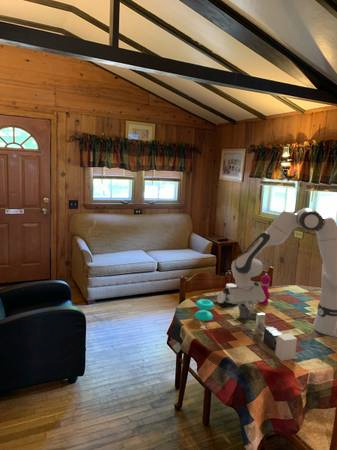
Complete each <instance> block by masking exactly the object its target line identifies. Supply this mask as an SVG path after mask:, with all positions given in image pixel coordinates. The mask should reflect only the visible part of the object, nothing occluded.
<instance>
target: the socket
mask: <svg viewBox="0 0 337 450" xmlns="http://www.w3.org/2000/svg"><path fill="white" fill-rule="evenodd" d="M297 343H298V338H297V337H296V336H295V335H293V334H292V333H282V334H281V335H277V343H276V351H275V355H276V356H277V357H278V358H279V359H280V360H281V361H280V362H283V361H288V360H289V359H290V360H296V359H295V354H296V351H297ZM282 360H283V361H282Z"/></svg>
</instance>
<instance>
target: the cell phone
mask: <svg viewBox="0 0 337 450" xmlns="http://www.w3.org/2000/svg"><path fill="white" fill-rule="evenodd" d="M199 329H201V330H205V331H210V330H209V328H208V327H207V326H206V324H205V323H202V324H201V326H200V327H199Z"/></svg>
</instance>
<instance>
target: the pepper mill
mask: <svg viewBox="0 0 337 450" xmlns="http://www.w3.org/2000/svg"><path fill="white" fill-rule="evenodd" d="M260 280H261V282H260V285H261V288H262V289H263V291H264V294H265V297H266V299H265V300H264V301H263V302H258V304H260V305H268V304H269V299H270V292H269V286H270V282H271V277H270V275H268V273H267V272H265V273H264V275H262V276H261V277H260Z"/></svg>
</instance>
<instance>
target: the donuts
mask: <svg viewBox="0 0 337 450" xmlns="http://www.w3.org/2000/svg"><path fill="white" fill-rule="evenodd" d="M214 304H215V303H214V302H213V301H211V300H210V299H204V298H200V299H198V300H197V301H196V302H195V305H196V307H197V308H198V309H199V310H198V311H196V312H195V314H194V317H195V318H196V320H198V321H204V322H205V321H206V322H207V321H211V320H213V317H214V316H213V314H212V313H211V311H209V310H212V309H214V306H215V305H214Z"/></svg>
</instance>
